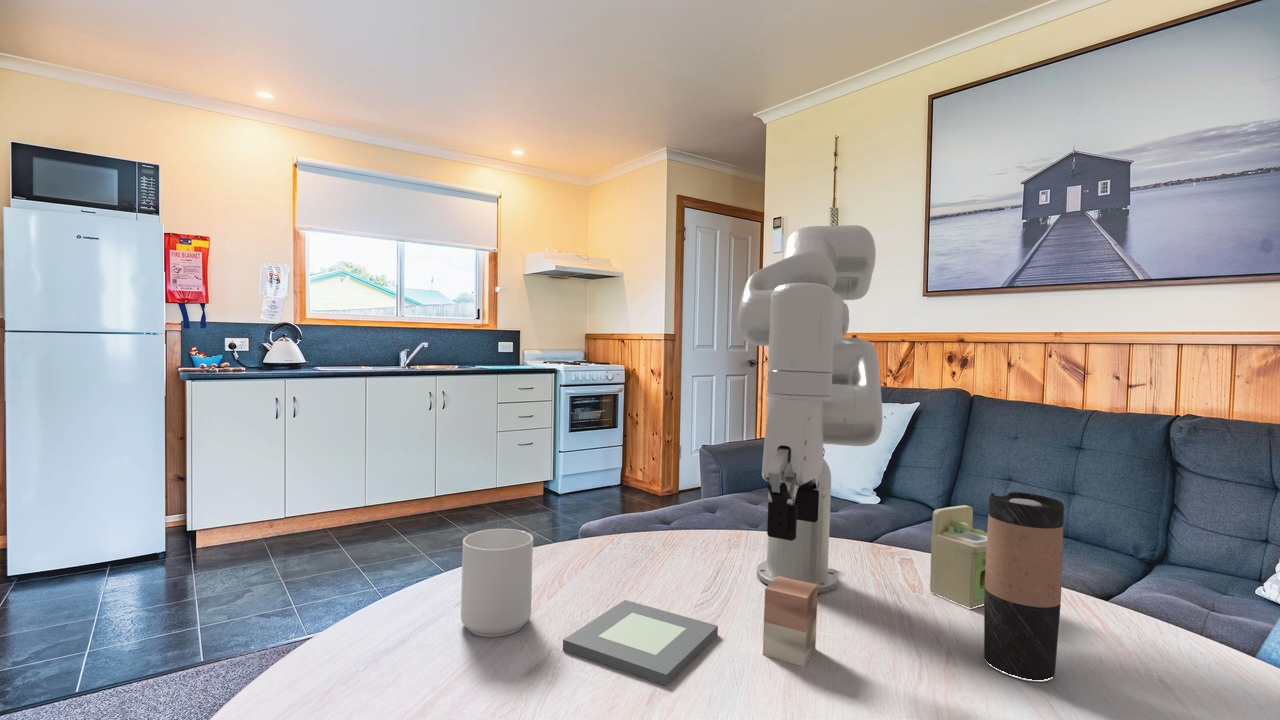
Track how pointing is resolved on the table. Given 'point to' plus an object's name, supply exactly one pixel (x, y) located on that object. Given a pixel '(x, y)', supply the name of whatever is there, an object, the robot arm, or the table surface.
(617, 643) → the base board
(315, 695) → the table surface
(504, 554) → the mug
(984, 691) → the table surface
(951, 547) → the toy sink
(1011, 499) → the travel mug
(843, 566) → the table surface
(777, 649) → the brick stack
